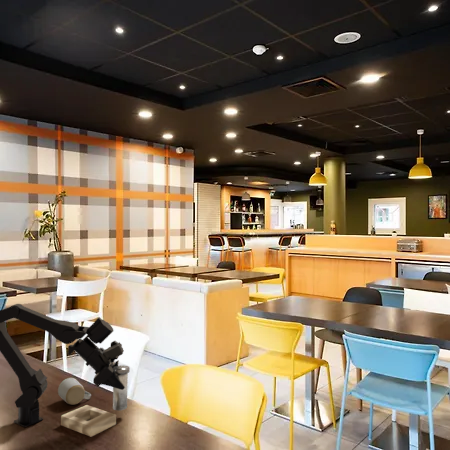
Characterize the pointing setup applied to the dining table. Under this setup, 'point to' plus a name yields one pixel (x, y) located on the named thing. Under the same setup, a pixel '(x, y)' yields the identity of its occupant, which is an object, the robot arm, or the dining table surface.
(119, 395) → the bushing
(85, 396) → the ceramic mug
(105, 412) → the plate
